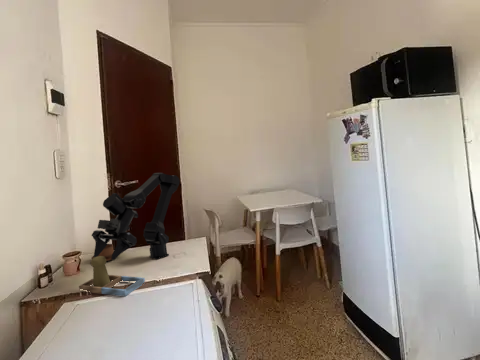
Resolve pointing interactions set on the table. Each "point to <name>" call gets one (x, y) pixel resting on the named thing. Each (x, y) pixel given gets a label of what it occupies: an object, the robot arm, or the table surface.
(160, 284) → the table surface
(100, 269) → the olive green tapered cylinder
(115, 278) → the two-pocket rack
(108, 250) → the brown hat
